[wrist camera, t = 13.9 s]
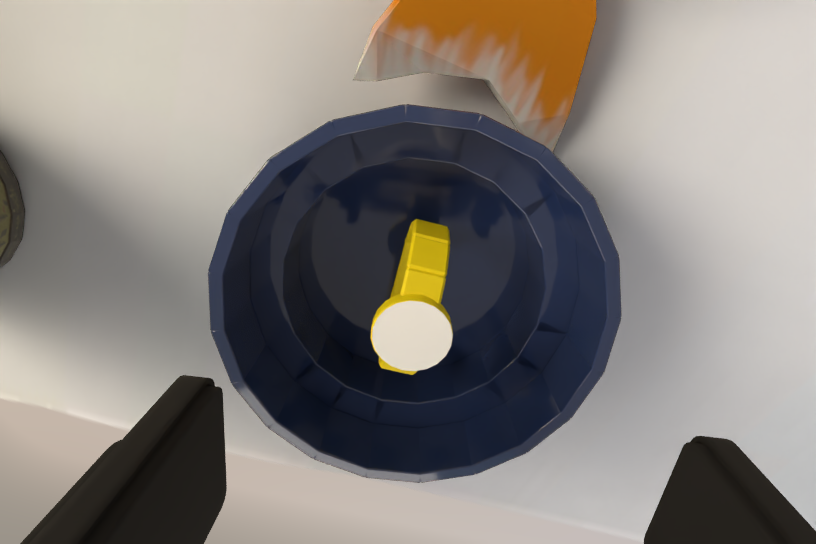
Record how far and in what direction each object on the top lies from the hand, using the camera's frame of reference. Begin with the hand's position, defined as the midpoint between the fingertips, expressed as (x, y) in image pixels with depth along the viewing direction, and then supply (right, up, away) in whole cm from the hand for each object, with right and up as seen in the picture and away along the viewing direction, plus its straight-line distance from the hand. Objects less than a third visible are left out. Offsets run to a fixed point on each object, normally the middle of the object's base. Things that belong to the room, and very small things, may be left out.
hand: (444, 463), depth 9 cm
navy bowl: (-1, +4, +12) cm, 13 cm away
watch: (-1, +4, +11) cm, 12 cm away
